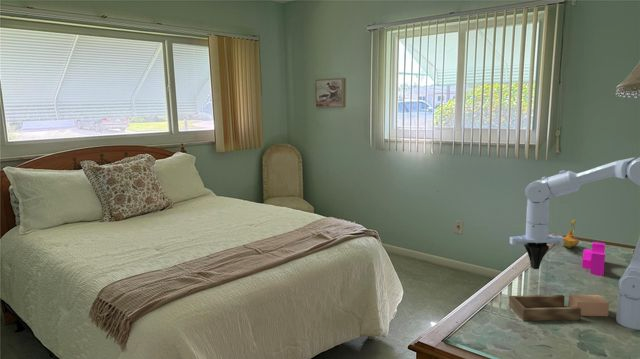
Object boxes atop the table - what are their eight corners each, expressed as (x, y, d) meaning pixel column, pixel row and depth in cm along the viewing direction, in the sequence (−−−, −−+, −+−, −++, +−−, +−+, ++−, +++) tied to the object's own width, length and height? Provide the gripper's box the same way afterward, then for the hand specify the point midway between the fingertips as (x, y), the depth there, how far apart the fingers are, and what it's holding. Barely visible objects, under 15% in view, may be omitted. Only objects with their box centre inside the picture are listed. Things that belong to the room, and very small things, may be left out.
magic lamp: (551, 255, 169) (552, 226, 168) (563, 244, 182) (565, 217, 181) (571, 258, 165) (573, 229, 163) (582, 247, 178) (584, 220, 176)
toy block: (583, 260, 163) (584, 240, 161) (603, 263, 159) (604, 243, 158) (581, 273, 150) (582, 252, 149) (603, 276, 147) (605, 254, 146)
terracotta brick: (598, 308, 124) (599, 295, 123) (608, 316, 119) (609, 302, 118) (568, 308, 124) (569, 294, 124) (576, 316, 120) (577, 302, 119)
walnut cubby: (562, 304, 126) (562, 294, 126) (580, 319, 117) (581, 308, 117) (508, 305, 126) (509, 295, 126) (523, 320, 117) (523, 309, 117)
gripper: (555, 218, 131) (552, 262, 133) (505, 219, 131) (504, 263, 133) (568, 224, 124) (565, 271, 126) (516, 225, 124) (514, 272, 126)
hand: (534, 268), depth 129 cm, fingers closed
